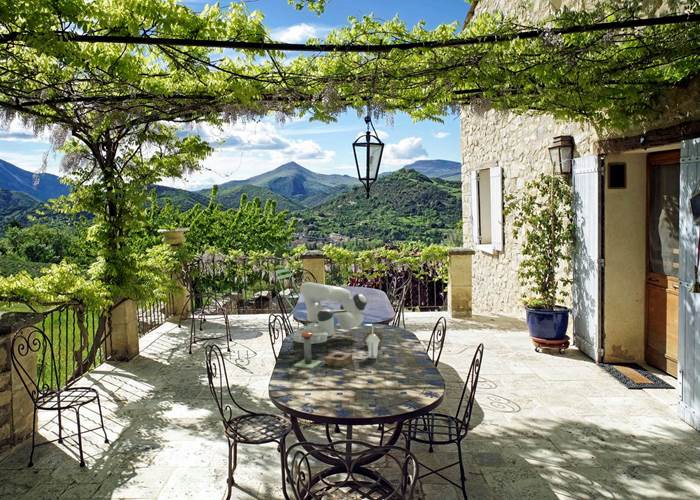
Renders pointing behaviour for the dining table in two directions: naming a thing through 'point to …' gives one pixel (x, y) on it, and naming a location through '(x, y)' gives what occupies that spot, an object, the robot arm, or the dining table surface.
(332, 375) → the dining table surface
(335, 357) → the collar
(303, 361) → the mat
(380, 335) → the pine cone
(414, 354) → the dining table surface
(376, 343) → the cup with straw
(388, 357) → the dining table surface
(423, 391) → the dining table surface
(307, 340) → the peg
